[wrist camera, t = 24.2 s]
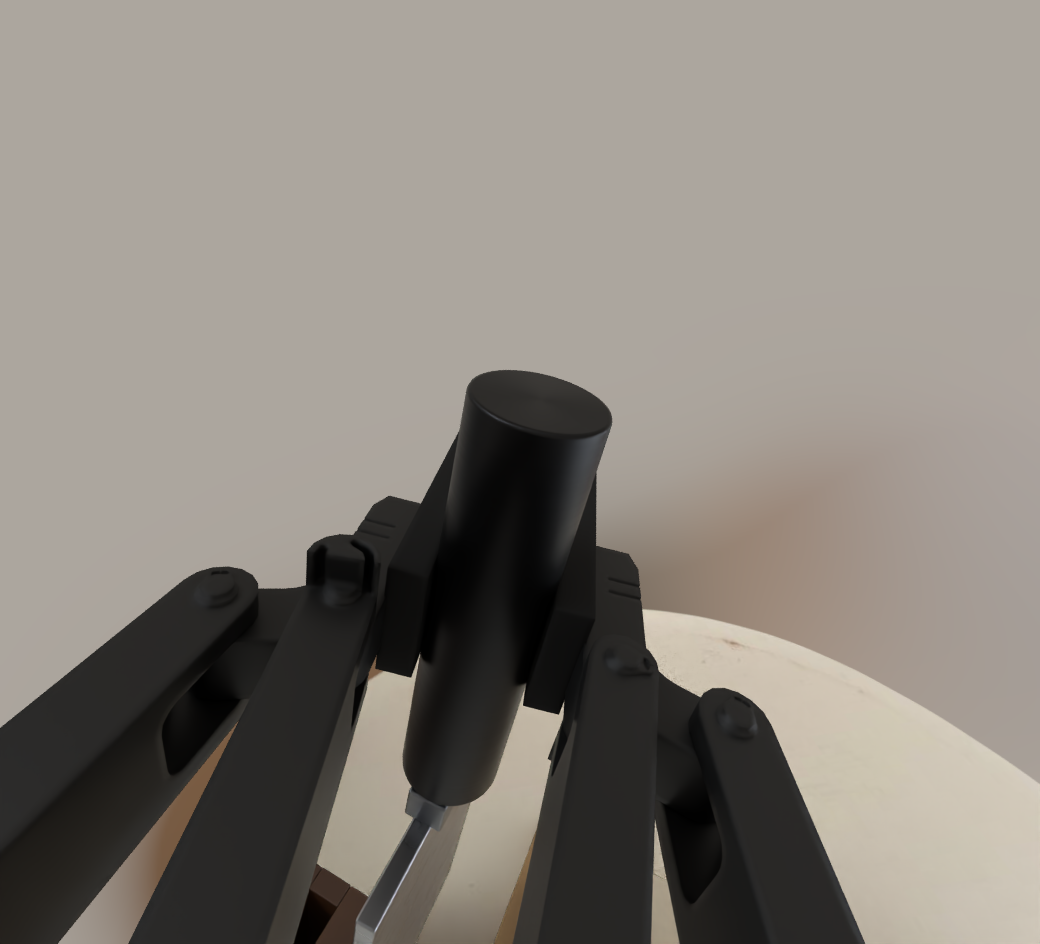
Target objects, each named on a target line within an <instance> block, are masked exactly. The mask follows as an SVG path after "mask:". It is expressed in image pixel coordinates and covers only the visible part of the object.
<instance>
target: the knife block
mask: <svg viewBox="0 0 1040 944" xmlns="http://www.w3.org/2000/svg"><path fill="white" fill-rule="evenodd" d="M367 899H368V896H366V895H365V894H363V893H362V892H360V891H358V890H357V889H355V888H354V887H350V884H348V883H346V882H345V881H343V880H342V879H340V878H339V877H337V876H335V875H334V874H332V873H331V872H329V871H328V870H326V869H325V868H323V869H322V867H321V866H319V865H318V864H316V867H315V871H314V874H313V877H312V881H311V884H310V888H309V891H308V895H307V898H306V902H305V905H304V909H303V912H302V916H301V919H300V923H299V926H298V929H297V933H296V936H295V940H294V943H293V944H353V936H354V929H355V922H356V918H357V916H358V915H359V913H360V911H361V909H362V907H363V906H364V904H365V902H366V900H367Z"/></svg>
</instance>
